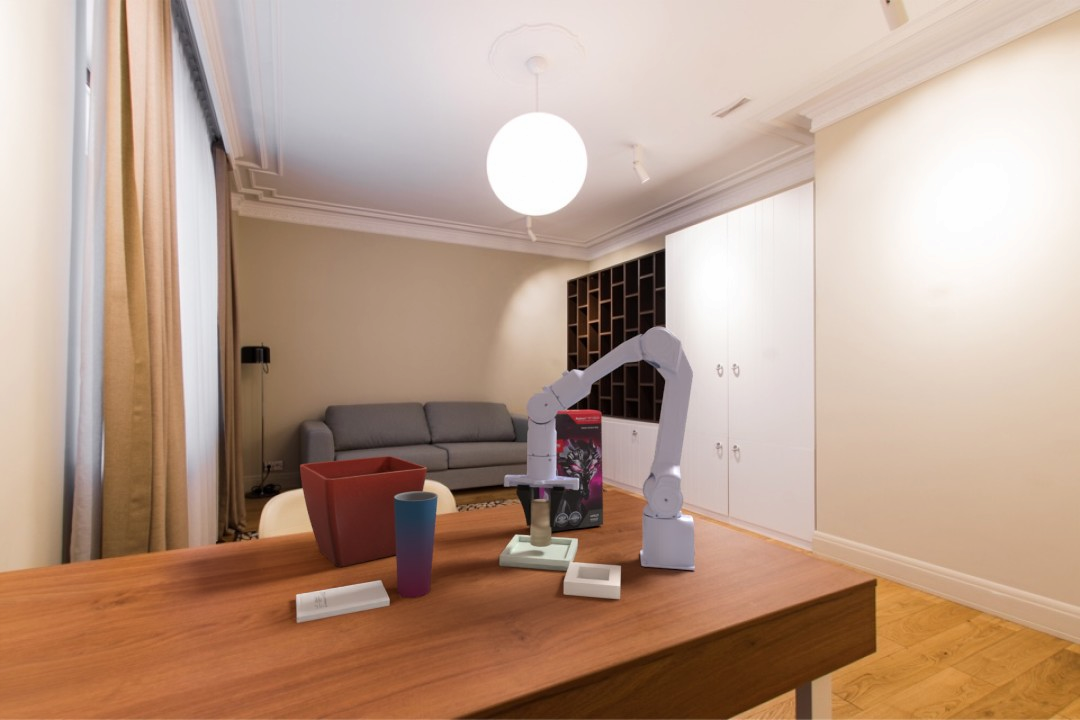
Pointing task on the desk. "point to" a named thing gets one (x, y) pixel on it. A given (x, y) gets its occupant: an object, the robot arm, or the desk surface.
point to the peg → (540, 523)
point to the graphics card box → (578, 469)
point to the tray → (539, 553)
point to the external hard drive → (340, 600)
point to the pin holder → (593, 580)
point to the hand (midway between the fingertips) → (541, 525)
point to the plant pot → (357, 505)
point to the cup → (414, 541)
